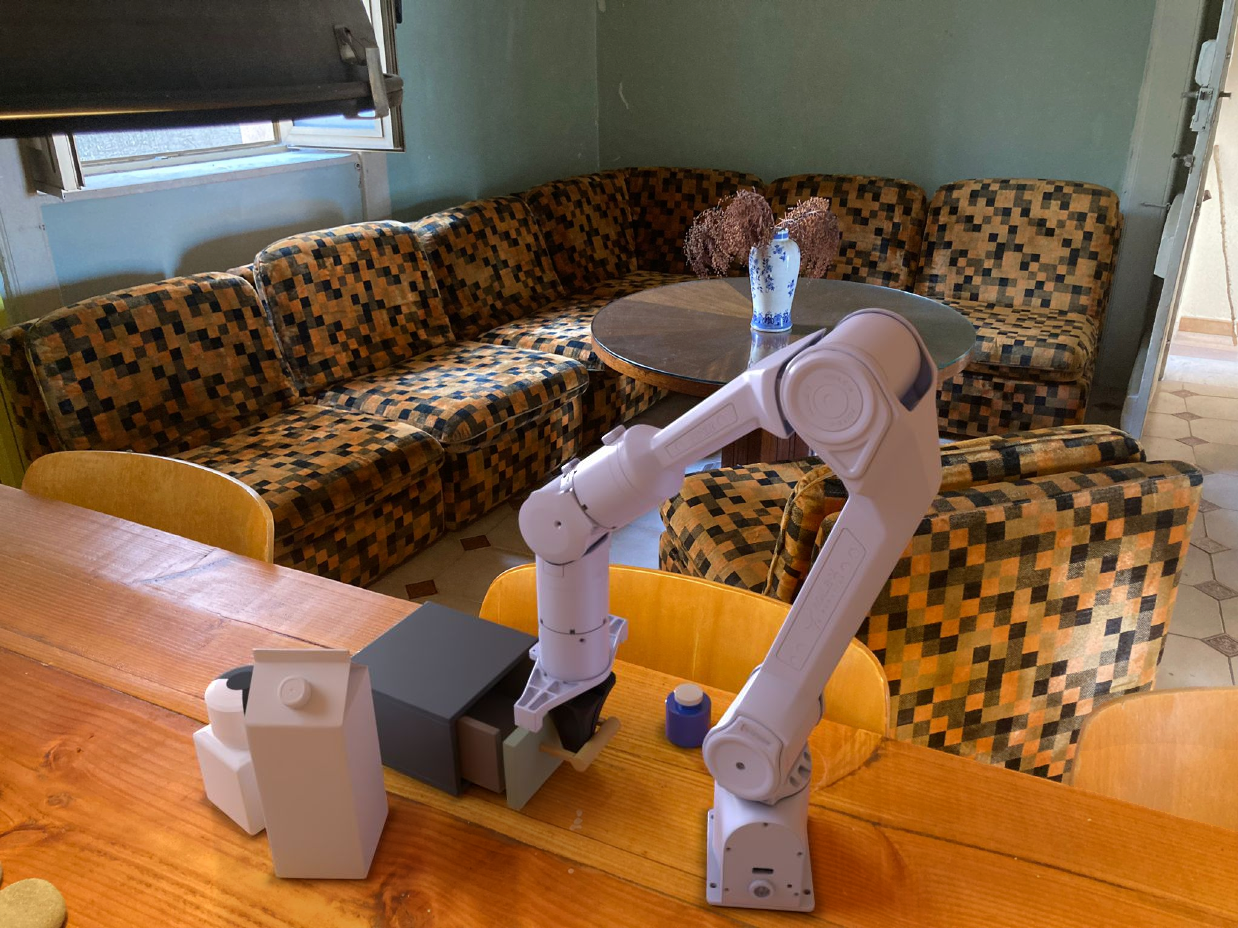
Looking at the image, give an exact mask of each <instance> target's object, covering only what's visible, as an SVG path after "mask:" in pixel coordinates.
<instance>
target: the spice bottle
mask: <svg viewBox="0 0 1238 928" xmlns="http://www.w3.org/2000/svg"><path fill="white" fill-rule="evenodd" d="M664 717H665V718H664V719H665V722H664V723H665V724H664V726H665V728H664V730H665V731H664V732H665V736H666V738H667V740H668V741H669V742H670V743H671V744H673V745H675V746H677V747H680V748H688V749H691V748H697V747H700V746H703V742H704V739H705V737H706V735H707V734H708V732H709V731H710V730H711V729H712V699H711V698H710V696H709V695H708V694H707V693H706V692H705V691H703V689H702V688H701V686H699V685H697V684H695V683H690V682H688V683H687V682H685V683H681V684H679V685H678V686H676V687H675V689H674V690H673V691H671V692H670V693H669V694H668V695H667V696H666V699H665V716H664Z"/></svg>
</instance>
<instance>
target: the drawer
mask: <svg viewBox="0 0 1238 928" xmlns="http://www.w3.org/2000/svg"><path fill="white" fill-rule="evenodd" d="M535 664H536V661H535V660H532V659H531V658H530V653H529V654H528V655H527V656H526V657H525V658H524V659H522V660H521V661H520V662H519V663H518V664H517V665H516V666H515V667H514V668H513V669H512V670H510V671H509V672H508V673H507V674H506V675H505V676H504V677H503V678H502V679H501V680H499V681H498V682H497V683H496V684H495V685H494V686H493V687H492V688H491V689H490V690H489V691H487V692H486V693H485V694H484V695H483V696H482V697H481V698H480V699H479V700H478V701H476V702H475V703H474V704H473V705H472V706H471V707H470V708H469V709H468V710H467V711H466V712H464V713H463V714H462V715H461V716H460V717H459V718H458V719H457V720H456V721H455V727H456V737H457V747H458V757H459V766H460V776H461V778H464V779H466V780H468V781H471V782H472V784H476V785H479V786H480V787H482V788H485V789H487V790H490V791H492V792H494V793H497V794H499V795H500V794H501V793H502V792H503V791H504V790H505V791H506V801H507V807H510V808H512V809H513V810H515V811H516V810H517V811H520V810H521V809H522V808H523V807H524V806H525V805H526V804H527V803H528V802H529V800H530V799H531V798H532V797H533V796H534V795H535V794H536V793H537V791H538V790H539V789H540V788H541V787H542V786H543V784H545V783H546V781H547V780H548V779H549V778H550V777H551V776H552V774H554V772H555V771H556V770H557V769H558V768H559V766H561V764H562V763H563V762H564V761H566V762H568V763H571V766H572V767H573V769H574V770H575V771H577V772H580V773H583V772H585V771H587V769H588V768H589V767H590V765H591V764H592V763H593V762H594V761H595V759H596V758H597V757H598V756H599V755H600V753H601V752H602V751H603V750H604V749H605V747H607V746H608V744H609V743H610V742H611V740H612V739H614V737H615V736H616V735H617V734H618V733H619V731H620V730H621V729H622V722H621V720H620V719H619V718H618V717H616V716H614V715H611V716H608V717H607V719H606V718H604V717H602V716H599V719H598V723H597V726H596V727H598V729H596V730H595V733H594V735H593V736H592V737H591V738H590V739H589V740H588V741H587V743H586V744H585V745H584V746H583V747H582V748H581V749H580V750H579V752H578V753H577V754H575V753H573V752H570V751H568V750H565V749H563V746H562V743H561V741H560V738H559V735H558V732H557V729H556V727H555V725H554V722H553V720H552V718H551V716H550V715H549V713H548V712H546V713H545V714H544V715H543V717H542V727H541V728H540V729H539V730H538V732H536V733H535V732H532V731H529V730H526V729H524V728H522V727H519V726H517V725H515V715H514V705H515V704H516V703H517V702H518V700H519V699H520V698H521V696H522V695H523V693H524V691H525V688H526V686H527V683H528V681H529V679H530V676H531V674H532V671H533V669H534V666H535Z"/></svg>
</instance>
